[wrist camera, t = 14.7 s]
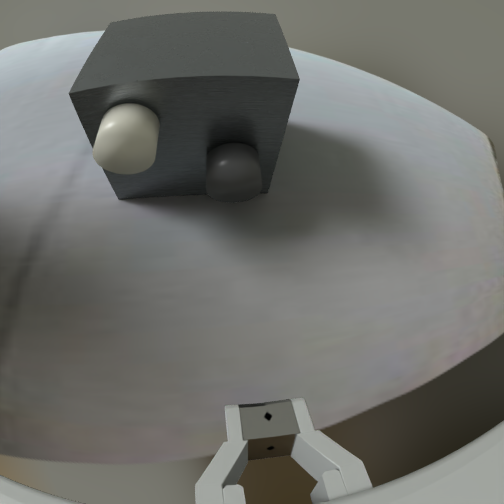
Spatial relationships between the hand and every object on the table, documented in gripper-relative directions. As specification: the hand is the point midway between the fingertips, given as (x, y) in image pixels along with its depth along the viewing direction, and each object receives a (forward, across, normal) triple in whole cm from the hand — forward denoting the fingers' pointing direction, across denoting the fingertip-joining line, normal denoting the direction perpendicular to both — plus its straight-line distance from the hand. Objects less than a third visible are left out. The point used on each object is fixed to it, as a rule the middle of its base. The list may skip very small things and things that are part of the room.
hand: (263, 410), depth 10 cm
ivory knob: (+19, -8, +10) cm, 23 cm away
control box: (+28, -4, +7) cm, 29 cm away
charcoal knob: (+23, 0, +6) cm, 23 cm away
